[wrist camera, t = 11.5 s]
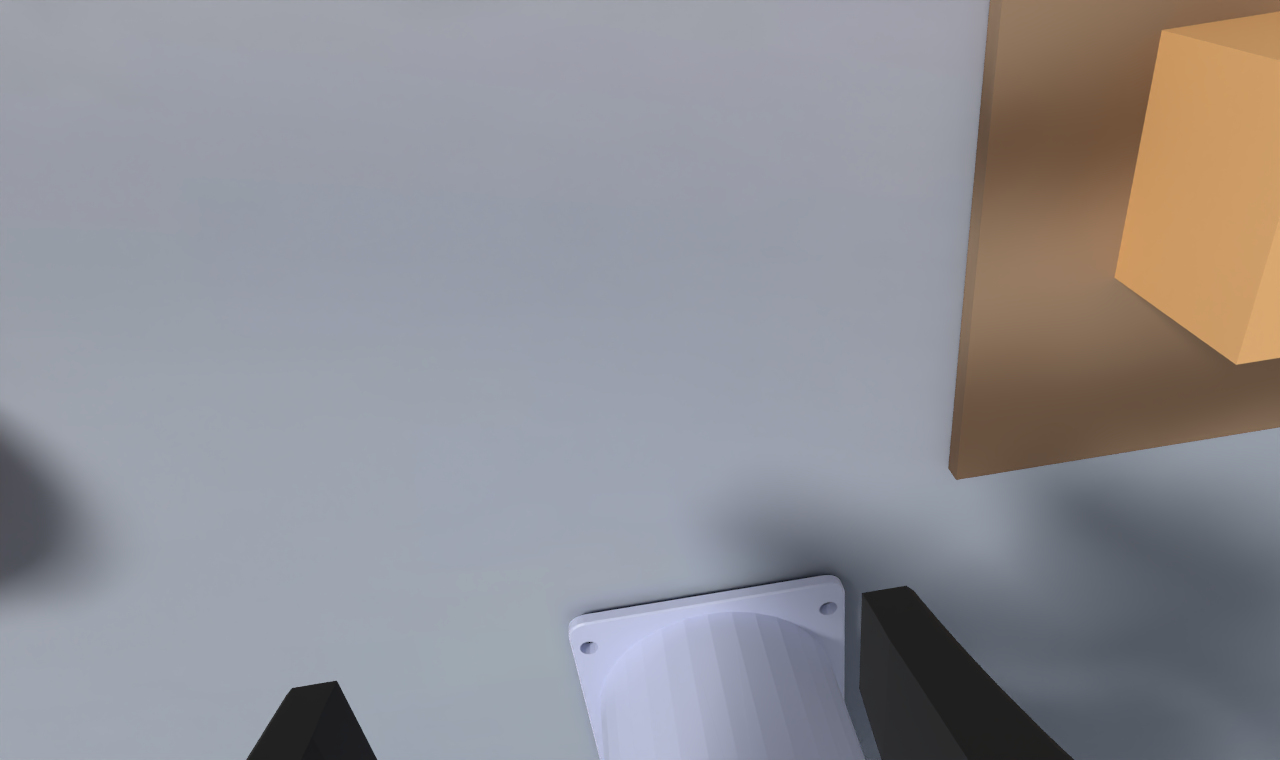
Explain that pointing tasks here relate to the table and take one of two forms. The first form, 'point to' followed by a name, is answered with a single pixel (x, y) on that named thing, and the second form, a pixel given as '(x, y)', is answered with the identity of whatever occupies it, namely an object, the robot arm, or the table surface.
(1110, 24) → the post board
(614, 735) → the robot arm
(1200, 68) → the cardboard-colored cube
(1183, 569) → the table surface
